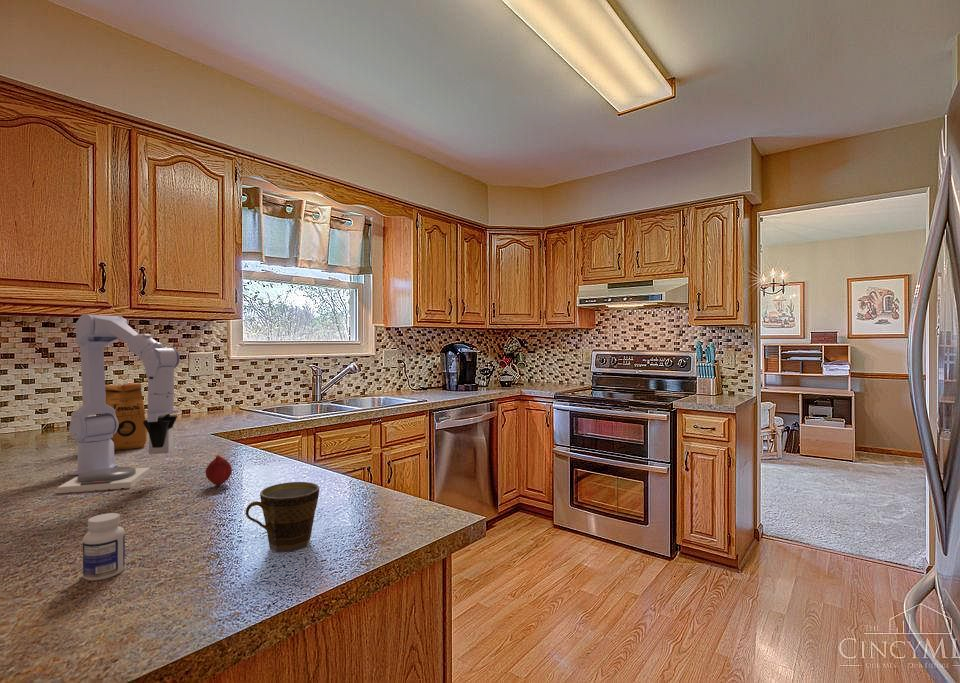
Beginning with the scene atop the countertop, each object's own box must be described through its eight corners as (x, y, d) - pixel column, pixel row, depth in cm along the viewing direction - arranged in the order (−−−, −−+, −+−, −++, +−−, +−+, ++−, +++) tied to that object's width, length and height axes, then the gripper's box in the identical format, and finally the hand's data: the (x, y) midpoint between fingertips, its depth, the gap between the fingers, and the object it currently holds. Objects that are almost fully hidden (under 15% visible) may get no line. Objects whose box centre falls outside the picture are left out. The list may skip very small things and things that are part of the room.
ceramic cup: (300, 530, 96) (300, 478, 96) (330, 543, 89) (330, 488, 89) (232, 551, 86) (232, 494, 86) (260, 568, 79) (260, 506, 79)
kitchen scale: (85, 477, 132) (85, 467, 132) (150, 472, 137) (150, 463, 137) (57, 493, 118) (57, 483, 118) (130, 487, 123) (130, 477, 123)
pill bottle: (98, 566, 80) (98, 511, 80) (132, 565, 80) (132, 510, 80) (73, 582, 75) (74, 523, 75) (110, 580, 75) (110, 522, 75)
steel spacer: (154, 450, 130) (154, 427, 130) (173, 449, 131) (173, 427, 131) (148, 454, 126) (148, 430, 126) (168, 453, 127) (168, 429, 127)
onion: (236, 483, 127) (236, 452, 127) (222, 489, 122) (222, 457, 122) (215, 482, 128) (215, 451, 128) (200, 488, 122) (200, 456, 122)
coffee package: (148, 448, 168) (148, 384, 168) (102, 453, 160) (102, 386, 160) (144, 443, 176) (145, 382, 176) (101, 448, 168) (101, 384, 168)
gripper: (170, 395, 123) (170, 450, 123) (185, 390, 137) (185, 439, 137) (137, 396, 121) (137, 452, 121) (156, 391, 135) (156, 440, 135)
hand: (160, 445), depth 129 cm, fingers closed on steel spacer, 4 cm apart
